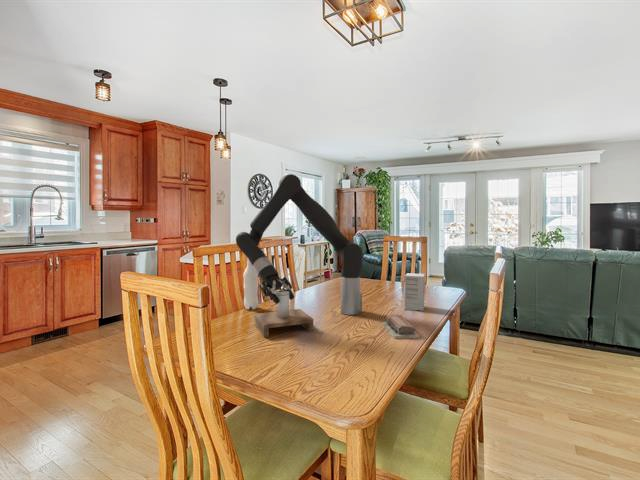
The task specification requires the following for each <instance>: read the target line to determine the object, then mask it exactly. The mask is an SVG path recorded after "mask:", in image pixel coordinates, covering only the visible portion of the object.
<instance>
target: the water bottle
mask: <svg viewBox="0 0 640 480" xmlns="http://www.w3.org/2000/svg"><path fill="white" fill-rule="evenodd" d="M246 261H247V262H246V264H247V266H246V268H245V270H244V271H243V275H242V276H243V291H244V298H243V306H244V307H245V309H246V310H248V309H249V310H250V309H251V310H255V309H257V308H258V307H259V297H258V290H259V276H258V274H257V273H256V271H255V269H254V267H253V265H252V264H251V262H250V261H249V259H248V258H247V260H246Z"/></svg>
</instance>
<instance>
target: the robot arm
mask: <svg viewBox="0 0 640 480" xmlns="http://www.w3.org/2000/svg"><path fill="white" fill-rule="evenodd" d="M278 182H279V183H278V187H277V189H276V191H275V192H274V193H273V195H272V197H271V198H270V199H269V200H268V202H267V203H266V204H265V205H264V206H263V207H262V209H260V210H259V211H258V213H257V215H256V216H255V217H254V218H253V220H252V221H251V222H250V228H251V229H250V231H249V233H248V232H246V231H242V232H239V233H238V234H237V235H236V237H235V244H236V246H237V247H238V248H239V250H240V251H241V252H242V253H243V255H245V257H246V258H247V259H249V261H250V262H251V264H252V265H253V267H254V269H255V271H256V273H257V274H258V278H259V279H260V280H261V283H260V284H258V287H259V288H260V290H261V291H262V293H263V295H264V296H265V297H266V298H267V297H269V298H271V300H272V301H273V303H274V304H275V305H277V304H278V303H279V302H280V300H279V298H278V297H277V293H276V291H289V301H292V300H293V299H294V298H295V295H294V293H293V292H292V289H293V285H292V284H291V283H290V281H289V280H288V278H287V277H286V276H283V277H282V278H280V277H279V272H278V271H277V269H276V267H275V266H274V264H273V263H272V261H271V260H270V259H269V258H268V256H266V253H265V252H264V250H262V249H261V248H260V247H259V246H258V245H259V244H260V242H261V239H262V238H263V235H264V233H265V232H266V230H267V229H268V227H269V226H270V225H271V224H272V222H273V221H274V219H276V217H277V215H278V214H279V212H280V211H281V210H282V208H284V206H285V205H286V204H287V203H288V202H290V201H291V202H292V203H294V205H295V206H297V208H298V209H299V211H300V212H301V213H302V215H303V216H304V217H305V219H306V220H307V221H308V223H310V224H311V226H312V227H313V228H314V229H315V230H316V231H317V232H318V233H319V234H320V235H321V236H322V237H323V238H324V239H325V240H326V241H327V242H329V245H331V246H332V248H333V249H334V250H335V252H336V253H337V254H338V257H340V258H341V259H342V262H343V263H342V269H341V271H340V313H341V314H342V315H346V316H347V315H348V316H353V315H355V316H356V315H359V314H362V313H363V292H361V273H362V271H363V250H362V247H361V246H360V245H359V244H358V243H354V242H351V240H349V239H348V238H347V237H346V236H345V235H344V234H343V233H342V232H341V231H340V229H339V227H338V225H337V223H336V221H335V219H334V218H333V217H332V215H330V214H329V212H328V211H327V210H326V209H325V208H324V207H323V206H322V205H321V204H320V203H319V202H317V201H316V200H315V199H314V198H312V197H311V195H309V194H308V193H307V192H306V191H305V189H304V188H303V186H302V182H301V180H300V178H299V176H297V175H296V174H293V173H292V174H291V173H288V174H286V175H284V176H282V177H281V178H280V180H279V181H278Z"/></svg>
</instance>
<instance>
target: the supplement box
mask: <svg viewBox="0 0 640 480" xmlns="http://www.w3.org/2000/svg"><path fill="white" fill-rule="evenodd" d="M425 280H426V274H425V273H409V272H407V273H406V274H405V275H404V304H403V305H404V306H403V307H404V311H405V310H407V311H417V310H420V311H419V312H424V310H425V293H426V292H425V291H426V288H425V287H426V286H425V285H426V284H425V283H426V281H425Z"/></svg>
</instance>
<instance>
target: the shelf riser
mask: <svg viewBox="0 0 640 480" xmlns="http://www.w3.org/2000/svg"><path fill="white" fill-rule="evenodd" d="M296 325H297V326H298V325H301V327H303V328H304V329H306V330H307V331H308V332H314V318H313V317H312V316H310V315H309V314H307V313H306V312H305V311H304V310H302V309H301V308H296V309H289V317H287V318H279V317H277V311H268V312H260V313H255V314H254V326H255V327H256V329H257V330H258V332H259V331H260V332H259V333H260V334H261V336H262V337H263V338H265V339H267V338H269V337H270V334H269V333H270V332H269V330H270V329H272V328H273V329H274V328H280V327H287V326H288V327H289V326H296Z"/></svg>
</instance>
